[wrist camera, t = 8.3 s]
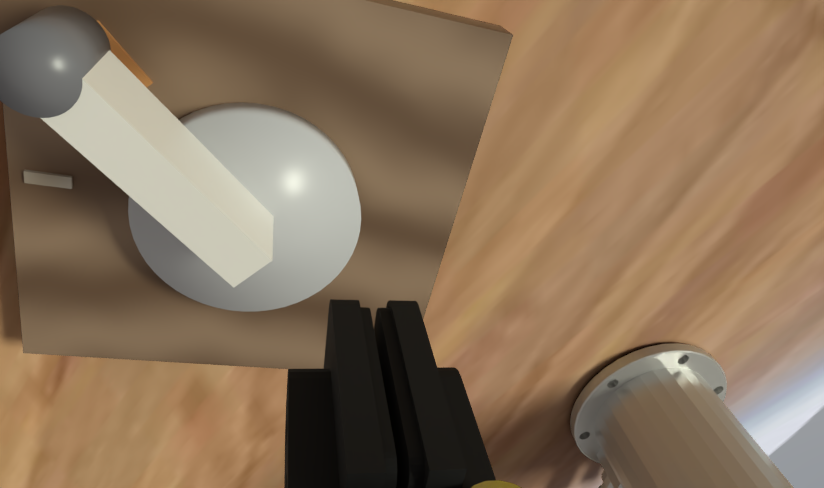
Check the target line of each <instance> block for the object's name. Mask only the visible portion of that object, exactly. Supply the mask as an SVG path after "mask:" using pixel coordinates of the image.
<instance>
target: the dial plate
mask: <svg viewBox="0 0 824 488" xmlns="http://www.w3.org/2000/svg"><path fill="white" fill-rule="evenodd" d="M56 5H64V6H70V7H74V8H77V9H79V10H82V11H84V12H85V13H87V14H89V15H90V16H91V17H93V18H94V19H95V20H96V21H97V22H98V23H99V24H100V25H101V27H102V28H103V29H104V31H105V33H106V35H107V37H108V39H109V42H110V47H111V52H112V53H113V54H114V55H115V56H116V57H117V58H118V59H119V60H120V61H121V62H122V63H123V64H124V65H125V66H126V67H127V68H128V69H129V70H130V71H131V72H132V73H133V74H134V75H135V76H136V77H137V78H138V79H139V80H140V81H141V82H142V83H143V85H144V86H145V87H146V88H147V89H148V90H149V91H150V92H151V93H152V94H153V95H154V96H155V97H156V98H157V99H158V100H159V101H160V102H161V103H162V104H163V105H164V106H165V107H166V108H167V109H168V110H169V111H170V112H171V113H172V114H173V115H174V116H175V117H176V118H177V119H178V120H179V119H181V118H182V117H185V116H187V115H189V114H191V113H193V112H195V111H198V110H201V109H204V108H207V107H210V106H215V105H220V104H225V103H241V102H243V103H258V104H264V105H269V106H274V107H277V108H280V109H283V110H286V111H289V112H291V113H294V114H296V115H298V116H300V117H302V118H304V119H306V120H307V121H309V122H310V123H312V124H314V125H315V126H316V127H318V128H319V129H320V130H321V131H323V132H324V133H325V134H326V135H327V136H328V137H329V138H330V139H331V140H332V141H333V142H334V143H335V144H336V145H337V147H338V148H339V149H340V151H341V152H342V154H343V155H344V156H345V158H346V160H347V162H348V164H349V166H350V168H351V171H352V173H353V176H354V179H355V183H356V187H357V191H358V196H359V201H360V206H361V226H360V233H359V237H358V241H357V244H356V247H355V249H354V252H353V254H352V256H351V257H350V259H349V261H348V263H347V264H346V266H345V267H344V268H343V270H342V271H341V272H340V273H339V275H338V276H337V277H336V278H335V279H334V280H333V281H332V282H331V283H329V284H328V285H327V286H326V287H324V288H323V289H322V290H320V291H319V292H317V293H315V294H314V295H312V296H310V297H309V298H307V299H304V300H302V301H300V302H298V303H295V304H292V305H289V306H286V307H282V308H278V309H273V310H266V311H252V312H243V311H232V310H226V309H221V308H216V307H212V306H209V305H206V304H203V303H200V302H198V301H195V300H193V299H191V298H189V297H187V296H185V295H183V294H181V293H180V292H178V291H176V290H175V289H174V288H172V287H171V286H169V285H168V284H167V283H165V282H164V281H163V280H162V279H161V278H160V277H159V276H158V275H157V274H156V273H155V272H154V271H153V270H152V269H151V268H150V266H149V265H148V264H147V263H146V261H145V260H144V258H143V257H142V255H141V253H140V252H139V250H138V248H137V246H136V243H135V241H134V239H133V235H132V232H131V228H130V224H129V216H128V202H129V195H128V194H126V193H125V192H124V191H123V190H122V189H121V188H120V187H118V186H117V185H116V184H115V183H114V182H113V181H112V180H110V179H109V178H108V177H107V176H106V175H105V174H104V173H102V172H101V171H100V170H99V169H98V168H97V167H96V166H94V165H93V164H92V163H91V162H90V161H89V160H88V159H87V158H85V157H84V156H83V155H82V154H81V153H80V152H79V151H77V150H76V149H75V148H74V147H73V146H72V145H71V144H69V143H68V142H67V141H66V140H65V139H64V138H63V137H61V136H60V135H59V134H58V133H57V132H56V131H55V130H53V129H52V128H51V127H50V126H49V125H48V124H47V123H45V122H44V121H43V120H42V119H41V118H36V117H31V116H27V115H24V114H21V113H19V112H17V111H15V110H13V109H11V108H10V107H8V106H7V105H5V104H4V103H3V113H4V125H5V137H6V149H7V161H8V174H9V186H10V198H11V210H12V222H13V234H14V246H15V258H16V271H17V283H18V295H19V307H20V319H21V331H22V343H23V353H31V354H48V355H64V356H81V357H97V358H114V359H130V360H147V361H163V362H180V363H196V364H213V365H230V366H246V367H263V368H279V369H323V368H324V357H325V346H326V335H327V323H328V312H329V303H330V300H331V299H337V300H359V302H360V307H368V308H370V310H371V316H372V321H373V327H374V325H375V317H376V311H377V308H386V306H387V302H388V301H389V300H396V301H417V303H418V305H419V308H420V312H421V315H422V318H424V315H425V311H426V308H427V305H428V302H429V299H430V296H431V292H432V289H433V286H434V283H435V280H436V277H437V274H438V270H439V267H440V264H441V261H442V258H443V255H444V251H445V248H446V245H447V242H448V239H449V236H450V233H451V229H452V226H453V223H454V220H455V217H456V214H457V210H458V207H459V204H460V201H461V198H462V195H463V192H464V188H465V185H466V182H467V179H468V176H469V173H470V169H471V166H472V163H473V160H474V157H475V154H476V151H477V147H478V144H479V141H480V138H481V135H482V132H483V128H484V125H485V122H486V119H487V116H488V113H489V110H490V106H491V103H492V100H493V97H494V94H495V91H496V87H497V84H498V81H499V78H500V75H501V72H502V69H503V65H504V62H505V59H506V56H507V53H508V50H509V46H510V43H511V40H512V37H513V35H512V34H511V33H510V32H508V31H507V30H506V29H504V28H503V27H501V26H499V25H494V24H490V23H486V22H482V21H478V20H473V19H469V18H465V17H461V16H457V15H452V14H448V13H444V12H440V11H436V10H431V9H427V8H423V7H419V6H414V5H410V4H406V3H402V2H398V1H393V0H0V34H2V33H4V32H5V31H7V30H9V29H10V28H12V27H14V26H16V25H17V24H19V23H21V22H22V21H24V20H26V19H28V18H29V17H31V16H33V15H34V14H36V13H38V12H40V11H41V10H43V9H45V8H48V7H51V6H56Z"/></svg>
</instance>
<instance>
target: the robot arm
mask: <svg viewBox="0 0 824 488" xmlns="http://www.w3.org/2000/svg"><path fill="white" fill-rule="evenodd" d="M726 388H727V382H726V376H725V373H724V371H723V370H722V368H721V366H720V365H719V364H718V362H717V361H716V360H715V359H714V358H713V357H712V356H711V355H710V354H709V353H707V352H706V351H704V350H703V349H701V348H698V347H695V346H692V345H687V344H680V343H673V344H660V345H655V346H650V347H646V348H643V349H640V350H637V351H634V352H632V353H630V354H628V355H626V356H624V357H622V358H620V359H618V360H616V361H615V362H613V363H612V364H610V365H608V366H607V367H605V368H604V369H603V370H602V371H601V372H599V373H598V374H597V375H596V376H595V377H594V378H593V379H592V380H591V381H590V382H589V383H588V384H587V385H586V387H585V388H584V389H583V390H582V392H581V393H580V395H579V397H578V398H577V400H576V402H575V404H574V407H573V409H572V412H571V419H570V427H571V433H572V435H573V438H574V440H575V442H576V444H577V446H578V447H579V449H580V450H581V452H582V453H583V454H584V455H585V456H587V457H588V458H589V459H591V460H593V461H595V462H597V463H601V465H602V467H603V469H604V471H603V473H602V480H603V484H602V485H600V486H599V488H793V486H792V485H791V484H790V483H789V482H788V480H787V479H786V478H785V477H784V476H783V474H782V473H781V472H780V471H779V469H778V468H777V467H776V466H775V464H774V463H773V462H772V461H771V460H770V458H769V457H768V456H767V455H766V454H765V452H764V451H763V450H762V449H761V447H760V446H759V445H758V444H757V443H756V441H755V440H754V439H753V438H752V437H751V435H750V434H749V433H748V432H747V430H746V429H745V428H744V427H743V426H742V424H741V423H740V422H739V421H738V420H737V418H736V417H735V416H734V415H733V413H732V412H731V411H730V410H729V409H728V407H727V406H726V405H725V404H724V403H723V401H724V398H725V395H726ZM285 488H521V487H519V486H517V485H515V484H513V483H509V482H505V481H500V480H496V479H495V476H494V473H493V470H492V467H491V464H490V461H489V458H488V455H487V452H486V450H485V447H484V444H483V441H482V438H481V435H480V432H479V429H478V426H477V423H476V420H475V417H474V414H473V411H472V408H471V405H470V402H469V399H468V396H467V393H466V390H465V387H464V384H463V381H462V378H461V376H460V374H459V371H458V370H457V369H456V368H437V366H436V362H435V359H434V356H433V352H432V349H431V345H430V342H429V339H428V335H427V332H426V328H425V325H424V322H423V318H422V315H421V312H420V308H419V305H418V303H417V301H396V300H389V301H388V302H387V306H386V308H377V311H376V317H375V325H374V327H373V321H372V316H371V310H370V308H368V307H360V302H359V300H337V299H331V300H330V303H329V312H328V323H327V335H326V346H325V357H324V368H323V369H288V381H287V401H286V429H285Z"/></svg>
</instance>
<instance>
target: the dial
mask: <svg viewBox="0 0 824 488" xmlns="http://www.w3.org/2000/svg"><path fill="white" fill-rule="evenodd" d="M0 101H1V102H3V103H4V104H5V105H7V106H8V107H10V108H11V109H13V110H15V111H17V112H19V113H21V114H24V115H27V116H31V117H36V118H41V119H42V120H43V121H44V122H45V123H47V124H48V125H49V126H50V127H51V128H52V129H53V130H55V131H56V132H57V133H58V134H59V135H60V136H61V137H63V138H64V139H65V140H66V141H67V142H68V143H69V144H71V145H72V146H73V147H74V148H75V149H76V150H77V151H79V152H80V153H81V154H82V155H83V156H84V157H85V158H87V159H88V160H89V161H90V162H91V163H92V164H93V165H94V166H96V167H97V168H98V169H99V170H100V171H101V172H102V173H104V174H105V175H106V176H107V177H108V178H109V179H110V180H112V181H113V182H114V183H115V184H116V185H117V186H118V187H120V188H121V189H122V190H123V191H124V192H125V193H126V194H128V195H129V202H128V216H129V224H130V228H131V232H132V235H133V239H134V241H135V243H136V246H137V248H138V250H139V252H140V253H141V255H142V257H143V258H144V260H145V261H146V263H147V264H148V265H149V266H150V268H151V269H152V270H153V271H154V272H155V273H156V274H157V275H158V276H159V277H160V278H161V279H162V280H163V281H164V282H165V283H167V284H168V285H169V286H171V287H172V288H174V289H175V290H176V291H178V292H180V293H181V294H183V295H185V296H187V297H189V298H191V299H193V300H195V301H198V302H200V303H203V304H206V305H209V306H212V307H216V308H221V309H226V310H232V311H243V312H252V311H266V310H273V309H278V308H282V307H286V306H289V305H292V304H295V303H298V302H300V301H302V300H304V299H307V298H309V297H310V296H312V295H314V294H315V293H317V292H319V291H320V290H322V289H323V288H324V287H326V286H327V285H328V284H329V283H331V282H332V281H333V280H334V279H335V278H336V277H337V276H338V275H339V273H340V272H341V271H342V270H343V268H344V267H345V266H346V264H347V263H348V261H349V259H350V257H351V256H352V254H353V252H354V249H355V247H356V244H357V241H358V237H359V233H360V226H361V206H360V201H359V196H358V191H357V187H356V183H355V179H354V176H353V173H352V171H351V168H350V166H349V164H348V162H347V160H346V158H345V156H344V155H343V154H342V152H341V151H340V149H339V148H338V147H337V145H336V144H335V143H334V142H333V141H332V140H331V139H330V138H329V137H328V136H327V135H326V134H325V133H324V132H323V131H321V130H320V129H319V128H318V127H316V126H315V125H314V124H312V123H310V122H309V121H307V120H306V119H304V118H302V117H300V116H298V115H296V114H294V113H291V112H289V111H286V110H283V109H280V108H277V107H274V106H269V105H264V104H258V103H243V102H241V103H225V104H220V105H215V106H210V107H207V108H204V109H201V110H198V111H195V112H193V113H191V114H189V115H187V116H185V117H182V118H181V119H179V120H178V119H177V118H176V117H175V116H174V115H173V114H172V113H171V112H170V111H169V110H168V109H167V108H166V107H165V106H164V105H163V104H162V103H161V102H160V101H159V100H158V99H157V98H156V97H155V96H154V95H153V94H152V93H151V92H150V91H149V90H148V89H147V88H146V87H145V86H144V85H143V83H142V82H141V81H140V80H139V79H138V78H137V77H136V76H135V75H134V74H133V73H132V72H131V71H130V70H129V69H128V68H127V67H126V66H125V65H124V64H123V63H122V62H121V61H120V60H119V59H118V58H117V57H116V56H115V55H114V54H113V53H112V52H111V47H110V42H109V39H108V37H107V35H106V33H105V31H104V29H103V28H102V27H101V25H100V24H99V23H98V22H97V21H96V20H95V19H94V18H93V17H91V16H90V15H89V14H87V13H85V12H84V11H82V10H79V9H77V8H74V7H70V6H64V5H56V6H51V7H48V8H45V9H43V10H41V11H40V12H38V13H36V14H34V15H33V16H31V17H29V18H28V19H26V20H24V21H22V22H21V23H19V24H17V25H16V26H14V27H12V28H10V29H9V30H7V31H5V32H4V33H2V34H0Z"/></svg>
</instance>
